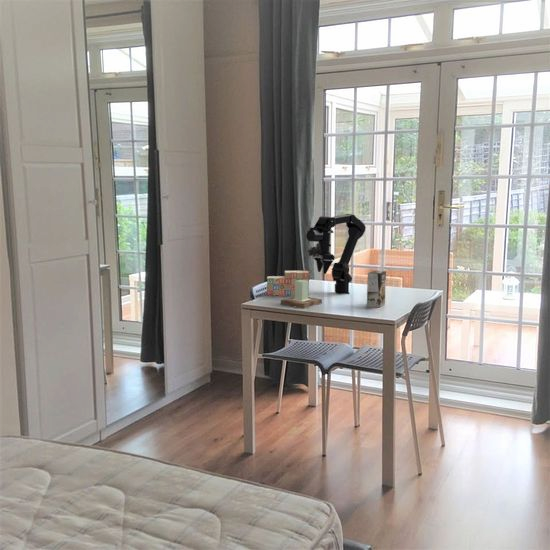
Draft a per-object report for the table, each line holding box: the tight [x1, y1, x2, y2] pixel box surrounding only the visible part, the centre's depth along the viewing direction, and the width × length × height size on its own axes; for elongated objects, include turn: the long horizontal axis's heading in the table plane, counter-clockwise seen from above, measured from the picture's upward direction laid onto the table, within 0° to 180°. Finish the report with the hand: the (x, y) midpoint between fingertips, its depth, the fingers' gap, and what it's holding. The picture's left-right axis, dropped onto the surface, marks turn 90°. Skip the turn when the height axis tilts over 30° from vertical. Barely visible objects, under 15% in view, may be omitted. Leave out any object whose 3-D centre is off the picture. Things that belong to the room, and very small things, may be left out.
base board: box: [280, 296, 323, 309], centre depth 294 cm, size 14×14×2 cm
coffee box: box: [366, 270, 387, 309], centre depth 288 cm, size 9×6×16 cm
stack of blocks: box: [266, 270, 310, 297], centre depth 315 cm, size 21×6×12 cm, turn 88°
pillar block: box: [294, 280, 309, 301], centre depth 293 cm, size 4×4×9 cm
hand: (321, 272), depth 307 cm, fingers open, 9 cm apart
